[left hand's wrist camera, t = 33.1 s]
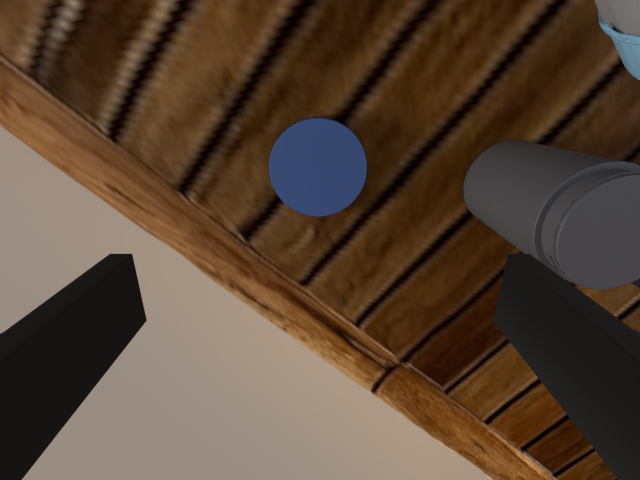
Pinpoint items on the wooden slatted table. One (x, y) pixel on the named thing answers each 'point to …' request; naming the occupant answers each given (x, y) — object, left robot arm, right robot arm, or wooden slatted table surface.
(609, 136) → the wooden slatted table surface
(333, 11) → the wooden slatted table surface
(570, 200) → the jar
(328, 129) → the lid
